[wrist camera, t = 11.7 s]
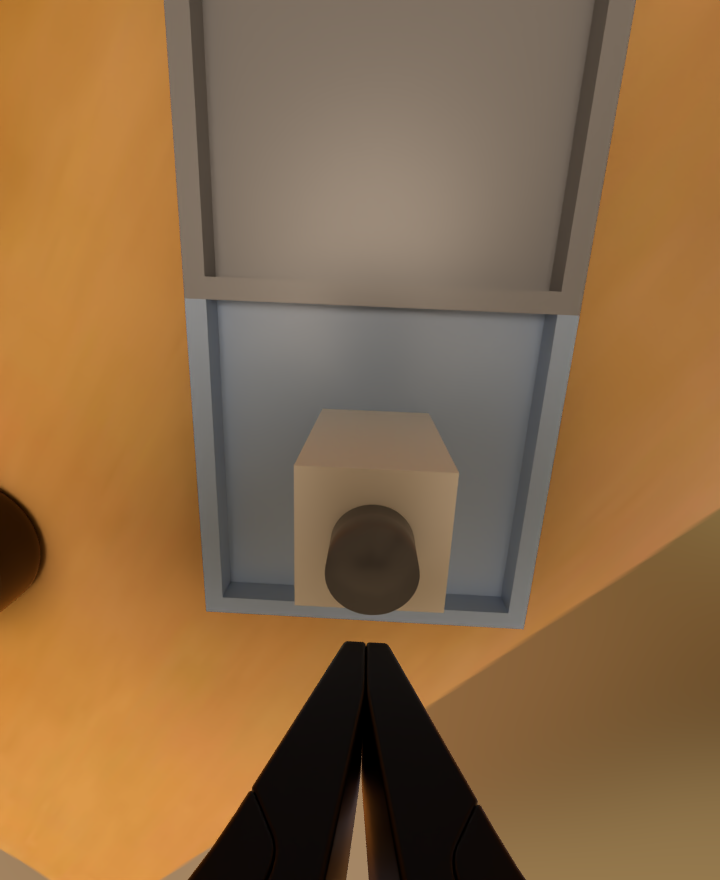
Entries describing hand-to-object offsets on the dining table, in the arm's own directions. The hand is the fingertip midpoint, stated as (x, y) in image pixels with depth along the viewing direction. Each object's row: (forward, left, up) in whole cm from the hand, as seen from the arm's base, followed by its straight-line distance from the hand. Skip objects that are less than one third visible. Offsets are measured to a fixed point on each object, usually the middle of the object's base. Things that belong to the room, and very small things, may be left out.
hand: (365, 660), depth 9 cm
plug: (0, 0, -11) cm, 11 cm away
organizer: (0, -7, -12) cm, 14 cm away
